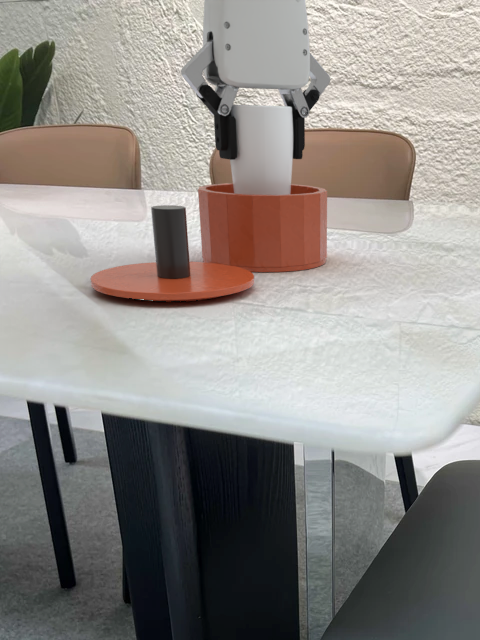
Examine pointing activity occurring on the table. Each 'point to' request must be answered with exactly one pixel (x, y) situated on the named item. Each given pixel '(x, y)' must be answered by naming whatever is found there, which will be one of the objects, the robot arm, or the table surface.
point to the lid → (172, 268)
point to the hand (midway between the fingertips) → (261, 157)
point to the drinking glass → (263, 150)
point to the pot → (264, 228)
